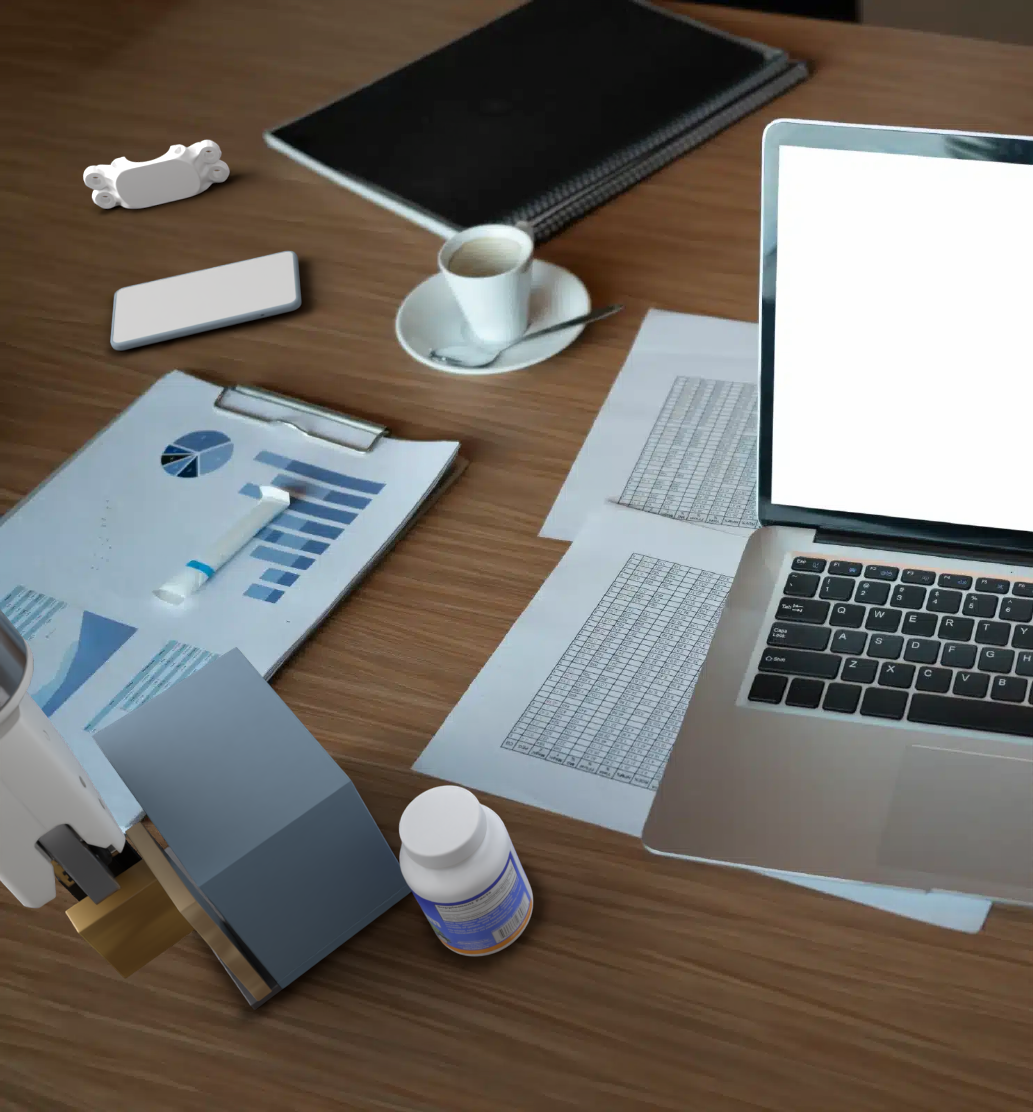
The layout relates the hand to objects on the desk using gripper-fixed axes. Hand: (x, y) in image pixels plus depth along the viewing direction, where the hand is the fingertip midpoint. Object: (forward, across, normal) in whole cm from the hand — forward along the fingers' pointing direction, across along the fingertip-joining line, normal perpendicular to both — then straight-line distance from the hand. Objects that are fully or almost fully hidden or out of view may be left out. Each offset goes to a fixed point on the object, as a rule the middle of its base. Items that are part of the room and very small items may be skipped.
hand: (120, 888), depth 67 cm
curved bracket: (+6, -70, +34) cm, 78 cm away
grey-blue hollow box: (+5, +2, +7) cm, 9 cm away
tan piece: (+4, +5, 0) cm, 6 cm away
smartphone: (+5, -51, +29) cm, 59 cm away
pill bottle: (+5, +12, +13) cm, 18 cm away
